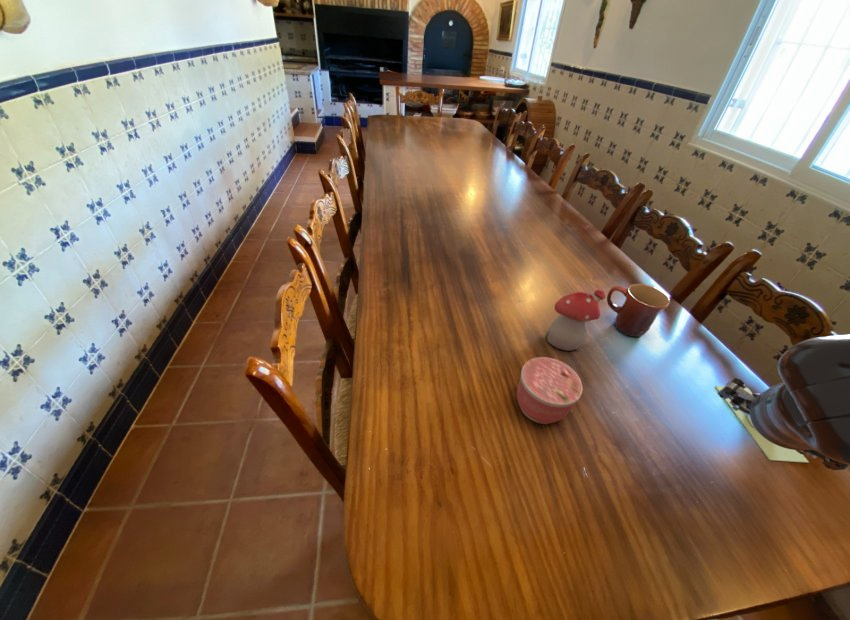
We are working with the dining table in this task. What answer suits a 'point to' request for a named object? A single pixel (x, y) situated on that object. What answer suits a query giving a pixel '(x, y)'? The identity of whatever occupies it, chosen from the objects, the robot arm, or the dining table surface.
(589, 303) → the decorative ornament
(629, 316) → the mug
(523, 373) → the container
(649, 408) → the dining table surface
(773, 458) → the edge strip
